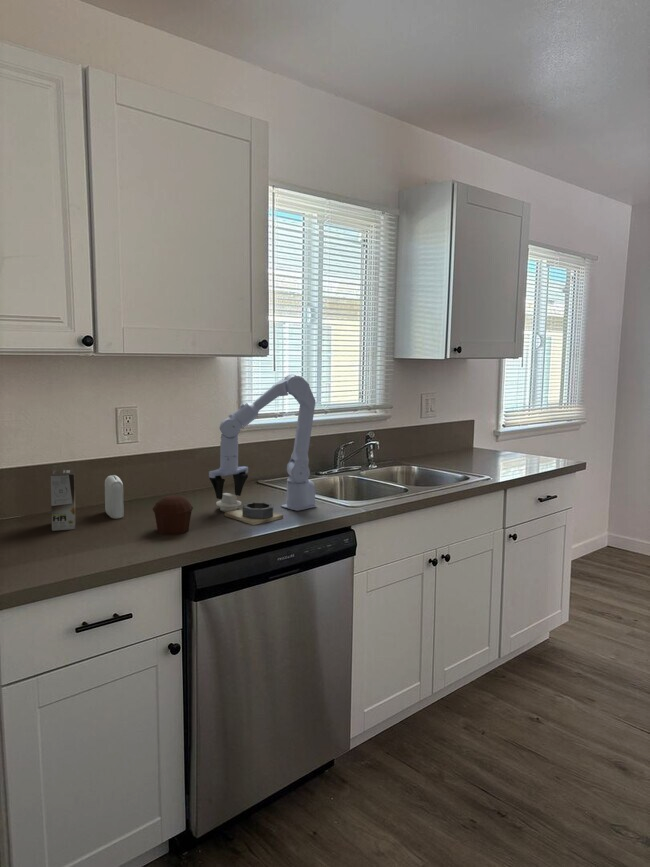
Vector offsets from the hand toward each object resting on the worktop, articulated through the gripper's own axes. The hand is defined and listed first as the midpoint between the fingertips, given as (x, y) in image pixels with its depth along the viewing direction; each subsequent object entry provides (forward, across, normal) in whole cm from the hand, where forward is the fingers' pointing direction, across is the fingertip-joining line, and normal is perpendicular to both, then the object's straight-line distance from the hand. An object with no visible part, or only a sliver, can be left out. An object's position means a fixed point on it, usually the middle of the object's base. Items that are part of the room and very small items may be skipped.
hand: (228, 496), depth 214 cm
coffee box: (+5, +48, -16) cm, 51 cm away
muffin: (+4, +27, +8) cm, 29 cm away
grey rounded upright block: (+5, +31, -18) cm, 36 cm away
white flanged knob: (+4, 0, 0) cm, 4 cm away
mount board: (+4, 0, +12) cm, 13 cm away
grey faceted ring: (+4, 0, +14) cm, 15 cm away
